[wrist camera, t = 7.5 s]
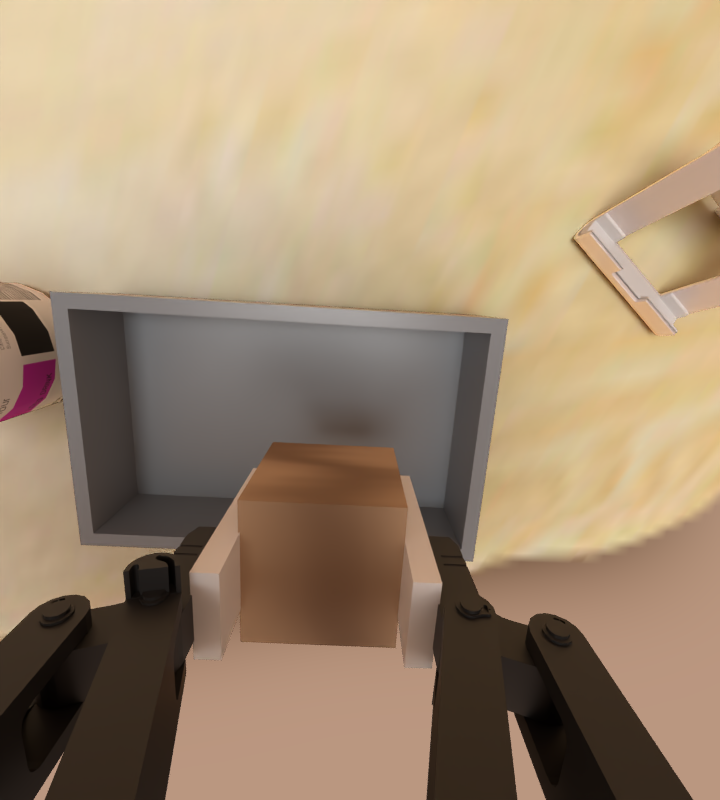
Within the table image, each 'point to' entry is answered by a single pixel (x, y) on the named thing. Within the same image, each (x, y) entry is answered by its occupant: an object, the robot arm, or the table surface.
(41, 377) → the supplement can
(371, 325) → the tote
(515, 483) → the table surface
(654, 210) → the portable electronic device stand
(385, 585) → the walnut cube
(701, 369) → the table surface
